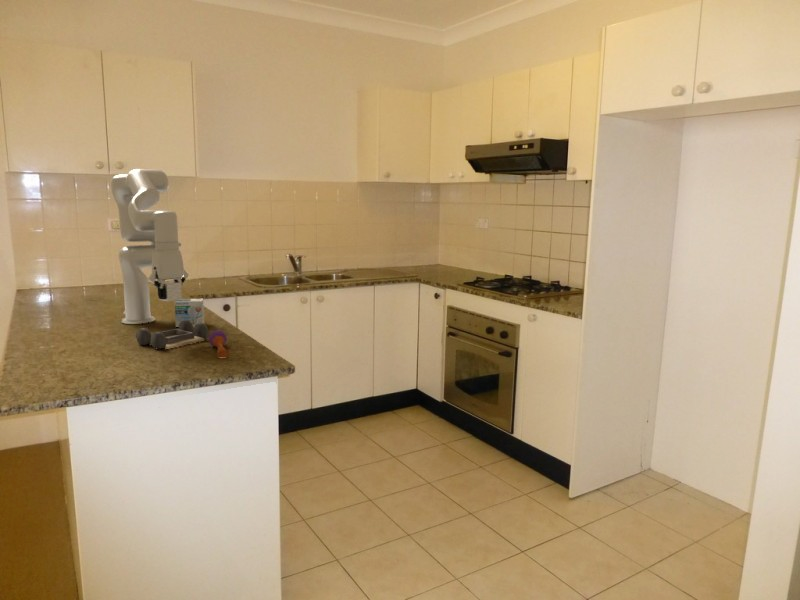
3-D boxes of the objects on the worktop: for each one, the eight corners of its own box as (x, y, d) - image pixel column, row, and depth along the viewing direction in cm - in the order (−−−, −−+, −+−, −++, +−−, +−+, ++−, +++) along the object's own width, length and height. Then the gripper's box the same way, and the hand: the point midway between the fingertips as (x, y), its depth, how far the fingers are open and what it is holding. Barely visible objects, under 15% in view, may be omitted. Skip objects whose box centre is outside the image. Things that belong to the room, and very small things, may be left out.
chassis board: (135, 343, 204) (134, 327, 203) (182, 334, 219) (181, 318, 218) (161, 351, 195) (160, 333, 193) (208, 340, 210) (208, 324, 209)
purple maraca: (210, 348, 184) (206, 330, 202) (215, 365, 186) (210, 346, 204) (229, 343, 186) (223, 326, 204) (233, 360, 188) (227, 341, 206)
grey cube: (158, 299, 203) (157, 282, 202) (172, 297, 208) (171, 281, 207) (167, 301, 200) (166, 284, 199) (181, 299, 205) (180, 282, 204)
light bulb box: (175, 328, 228) (173, 301, 227) (177, 324, 235) (175, 298, 233) (203, 327, 231) (202, 300, 229) (204, 323, 238) (203, 298, 236)
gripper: (182, 244, 210) (184, 293, 213) (137, 247, 196) (141, 300, 199) (194, 246, 206) (197, 295, 209) (150, 249, 192) (153, 302, 195)
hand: (170, 297), depth 204 cm, fingers closed on grey cube, 5 cm apart
